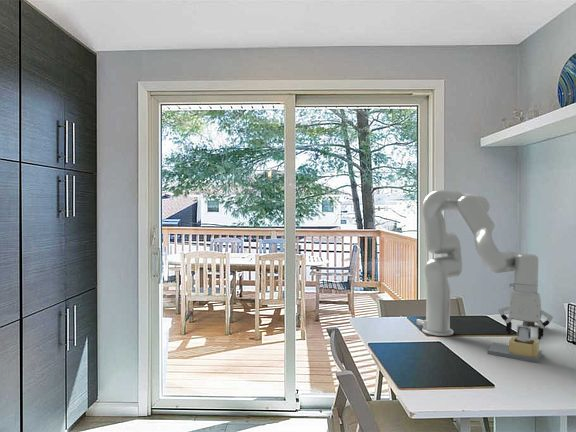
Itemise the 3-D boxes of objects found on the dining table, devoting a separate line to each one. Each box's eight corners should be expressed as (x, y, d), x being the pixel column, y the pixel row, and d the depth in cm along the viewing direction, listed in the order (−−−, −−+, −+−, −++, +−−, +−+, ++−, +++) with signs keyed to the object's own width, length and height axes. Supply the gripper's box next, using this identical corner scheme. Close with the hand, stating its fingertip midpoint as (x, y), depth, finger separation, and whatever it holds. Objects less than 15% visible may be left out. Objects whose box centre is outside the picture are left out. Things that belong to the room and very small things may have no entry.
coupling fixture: (487, 353, 162) (487, 339, 162) (494, 345, 171) (494, 332, 171) (537, 362, 152) (538, 347, 152) (541, 353, 162) (542, 339, 162)
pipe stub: (515, 352, 160) (516, 327, 160) (517, 349, 163) (518, 324, 163) (529, 354, 157) (530, 329, 157) (530, 351, 161) (532, 326, 161)
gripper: (497, 287, 162) (496, 334, 162) (552, 292, 152) (551, 343, 152) (501, 284, 168) (500, 329, 168) (554, 289, 158) (553, 338, 158)
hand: (524, 336), depth 160 cm, fingers open, 9 cm apart
